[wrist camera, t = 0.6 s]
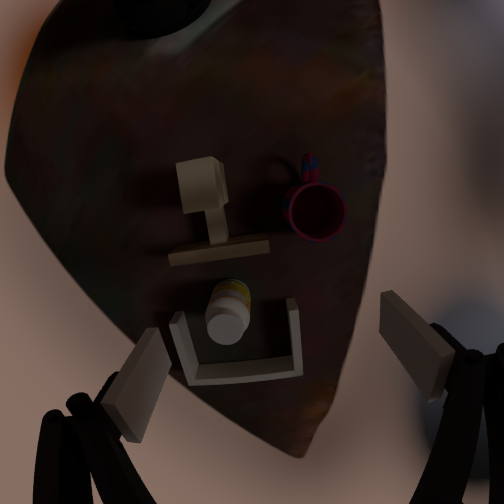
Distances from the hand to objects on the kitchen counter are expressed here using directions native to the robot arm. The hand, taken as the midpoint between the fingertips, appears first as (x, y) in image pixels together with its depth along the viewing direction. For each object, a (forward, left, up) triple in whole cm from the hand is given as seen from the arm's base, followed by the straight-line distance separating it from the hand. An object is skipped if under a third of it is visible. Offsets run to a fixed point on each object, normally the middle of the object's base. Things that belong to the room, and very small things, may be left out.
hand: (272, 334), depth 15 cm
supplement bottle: (+7, -5, -23) cm, 24 cm away
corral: (+13, -5, -23) cm, 27 cm away
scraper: (-6, -5, -23) cm, 24 cm away
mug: (-6, +7, -23) cm, 24 cm away
